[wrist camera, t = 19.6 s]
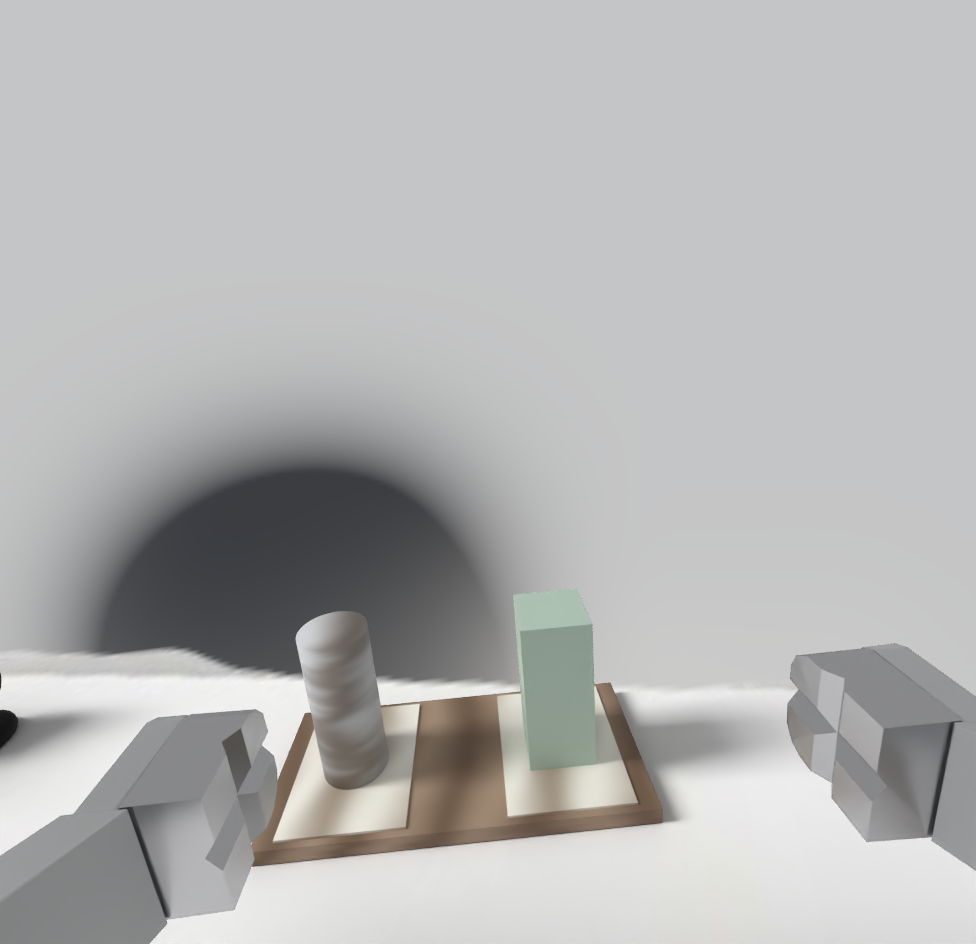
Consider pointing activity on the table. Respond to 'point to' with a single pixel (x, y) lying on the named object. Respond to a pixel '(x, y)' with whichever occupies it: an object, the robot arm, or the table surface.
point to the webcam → (7, 724)
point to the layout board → (431, 765)
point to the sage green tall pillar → (556, 678)
